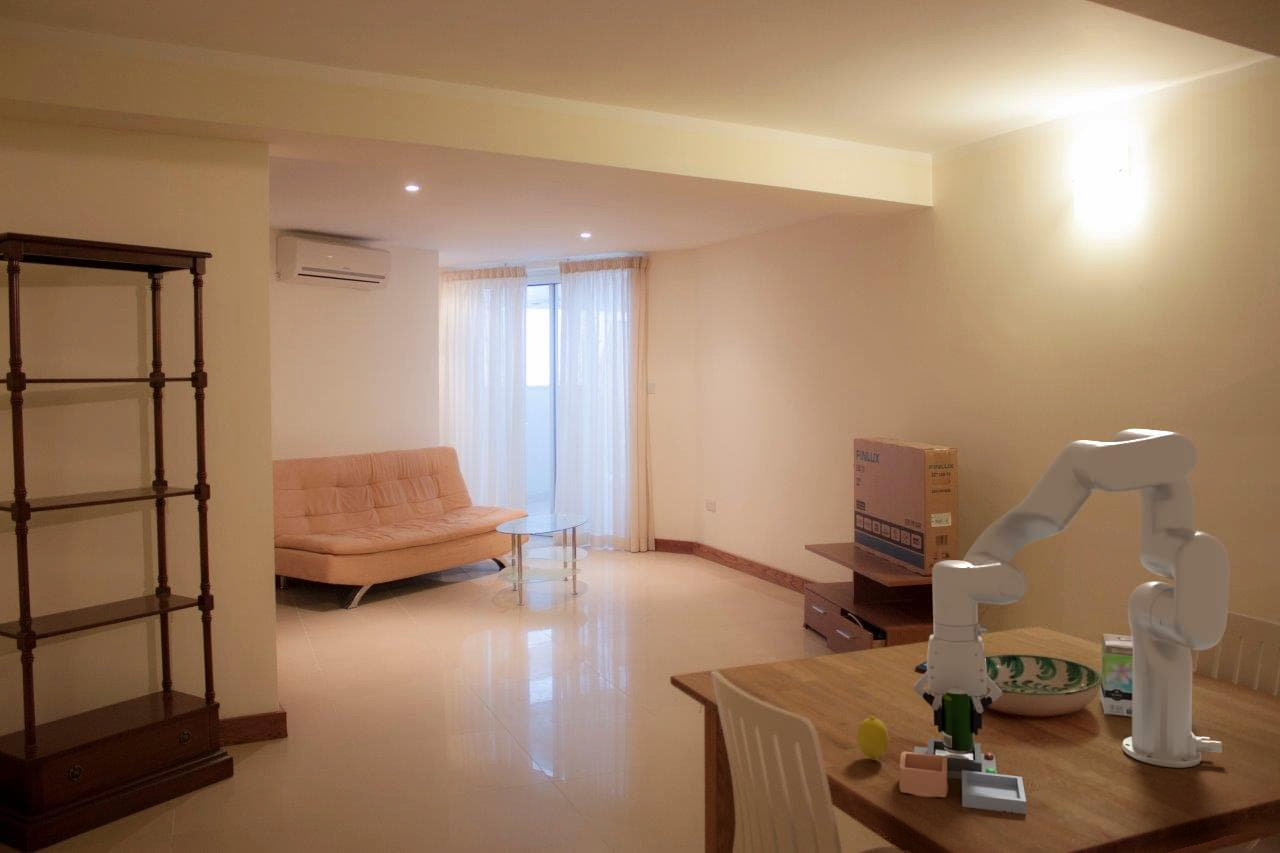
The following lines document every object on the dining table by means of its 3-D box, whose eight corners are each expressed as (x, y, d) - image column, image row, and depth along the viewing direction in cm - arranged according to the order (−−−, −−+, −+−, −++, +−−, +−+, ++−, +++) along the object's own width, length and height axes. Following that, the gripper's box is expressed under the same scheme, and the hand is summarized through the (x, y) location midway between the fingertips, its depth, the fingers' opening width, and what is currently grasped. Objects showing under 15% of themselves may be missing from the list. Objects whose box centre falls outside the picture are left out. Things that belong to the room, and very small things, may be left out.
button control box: (994, 760, 170) (994, 744, 169) (997, 783, 160) (997, 766, 160) (914, 751, 174) (914, 735, 174) (912, 773, 164) (912, 756, 164)
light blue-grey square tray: (1021, 788, 158) (1021, 776, 158) (1026, 814, 149) (1026, 801, 148) (961, 782, 161) (961, 770, 161) (962, 806, 152) (962, 793, 152)
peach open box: (948, 780, 162) (948, 755, 161) (948, 800, 154) (948, 774, 154) (900, 774, 164) (900, 750, 164) (898, 794, 157) (897, 768, 156)
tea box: (1103, 716, 190) (1104, 644, 190) (1099, 700, 200) (1100, 631, 199) (1188, 725, 185) (1189, 651, 184) (1180, 708, 194) (1181, 638, 193)
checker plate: (972, 756, 169) (972, 751, 169) (973, 770, 163) (973, 765, 163) (935, 752, 171) (935, 747, 171) (935, 766, 165) (935, 761, 165)
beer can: (961, 757, 163) (959, 690, 162) (936, 748, 168) (934, 682, 167) (980, 749, 166) (979, 683, 165) (955, 740, 171) (954, 676, 170)
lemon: (871, 768, 167) (871, 724, 167) (851, 757, 172) (850, 714, 171) (895, 761, 170) (894, 718, 169) (874, 751, 174) (874, 709, 174)
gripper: (1006, 627, 167) (1008, 727, 168) (906, 623, 172) (908, 719, 173) (1008, 639, 159) (1010, 743, 160) (904, 634, 165) (907, 734, 166)
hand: (957, 729), depth 167 cm, fingers closed on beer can, 5 cm apart
